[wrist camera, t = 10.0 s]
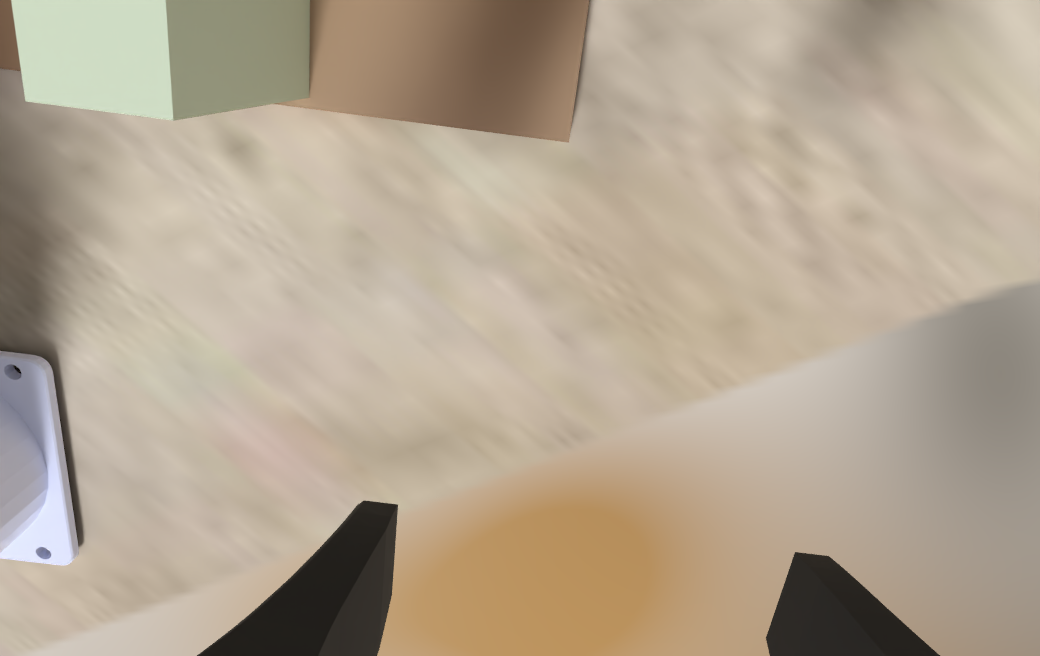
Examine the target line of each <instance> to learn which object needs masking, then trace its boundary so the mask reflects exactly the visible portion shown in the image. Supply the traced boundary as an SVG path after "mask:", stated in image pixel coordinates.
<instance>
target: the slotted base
mask: <svg viewBox="0 0 1040 656" xmlns="http://www.w3.org/2000/svg"><path fill="white" fill-rule="evenodd" d="M588 7H589V0H310V55H309V98H304V99H298V100H292V101H286V102H281V103H275V104H278V105H286V106H293V107H301V108H309V109H316V110H324V111H332V112H339V113H347V114H355V115H362V116H370V117H378V118H385V119H393V120H401V121H409V122H416V123H424V124H432V125H439V126H447V127H455V128H462V129H470V130H478V131H485V132H493V133H501V134H508V135H516V136H524V137H531V138H539V139H547V140H554V141H562V142H569V137H570V130H571V123H572V117H573V110H574V103H575V96H576V89H577V82H578V75H579V68H580V62H581V55H582V48H583V41H584V34H585V27H586V20H587V13H588ZM0 68H2V69H9V70H17V71H21V67H20V60H19V53H18V45H17V38H16V31H15V24H14V17H13V10H12V3H11V0H0Z"/></svg>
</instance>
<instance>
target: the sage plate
mask: <svg viewBox="0 0 1040 656" xmlns="http://www.w3.org/2000/svg"><path fill="white" fill-rule="evenodd" d="M11 3H12V10H13V17H14V24H15V31H16V38H17V45H18V53H19V60H20V67H21V74H22V81H23V88H24V95H25V101H27V102H34V103H42V104H50V105H57V106H65V107H73V108H81V109H88V110H96V111H104V112H112V113H119V114H127V115H135V116H142V117H150V118H158V119H166V120H179V119H185V118H191V117H197V116H203V115H209V114H215V113H221V112H227V111H233V110H239V109H245V108H251V107H257V106H263V105H269V104H275V103H281V102H286V101H292V100H298V99H304V98H309V55H310V0H11Z"/></svg>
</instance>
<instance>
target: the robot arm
mask: <svg viewBox="0 0 1040 656" xmlns="http://www.w3.org/2000/svg"><path fill="white" fill-rule="evenodd" d="M13 365H14V366H17V367H18V368H19V369H20V371H21V373H22V374H20V373H18V372H17V371H16V370H15V368H14V366H13ZM397 510H398V505H396V504H388V503H380V502H371V501H363V502H361V503H360V504H359V505H357V506H356V508H355V509H354V510H353V511H352V513H351V514H350V515H349V516H348V517H347V518H346V520H345V521H344V522H343V523H342V524H341V525H340V527H339V528H338V529H337V530H336V531H335V532H334V533H333V534H332V535H331V537H330V538H329V539H328V540H327V541H326V542H325V543H324V544H323V545H322V546H321V547H320V549H318V550H317V551H316V552H315V553H314V554H313V556H312V557H311V558H310V559H309V560H308V561H307V562H306V563H305V564H304V565H303V566H302V567H301V568H300V569H299V570H298V571H297V572H296V573H295V574H294V575H293V576H292V577H291V578H290V579H288V581H286V582H285V583H284V584H283V585H282V586H281V587H280V588H279V589H278V590H277V591H275V592H274V593H273V594H272V595H271V596H270V597H269V598H268V599H267V600H265V601H264V602H263V603H262V604H261V605H260V606H259V607H258V608H257V609H255V610H254V611H253V612H252V613H251V614H250V615H249V616H247V617H246V618H245V619H244V620H242V621H241V622H240V623H239V624H238V625H236V626H235V627H234V628H233V629H232V630H230V631H229V632H228V633H226V634H225V635H224V636H222V637H221V638H220V639H218V640H217V641H216V642H215V643H213V644H212V645H211V646H209V647H208V648H207V649H205V650H204V651H203V652H201V653H200V654H199V655H197V656H377V653H378V651H379V648H380V643H381V639H382V635H383V630H384V626H385V622H386V618H387V613H388V609H389V604H390V600H391V596H392V582H393V569H394V553H395V538H396V525H397ZM46 548H47V549H48V550H47V549H46ZM78 553H79V547H78V540H77V534H76V527H75V520H74V513H73V506H72V499H71V493H70V486H69V479H68V472H67V465H66V458H65V452H64V445H63V438H62V431H61V424H60V417H59V411H58V404H57V397H56V390H55V383H54V376H53V371H52V368H51V365H50V364H49V363H48V362H47V361H46V360H45V359H43V358H42V357H40V356H36V355H30V354H22V353H14V352H6V351H0V558H3V559H11V560H20V561H28V562H37V563H45V564H54V565H67V564H70V563H71V562H72V561H73V560H74V559H75V558H76V557H77V555H78ZM766 640H767V644H768V649H769V654H770V656H940V655H938V654H937V653H936V652H935V651H934V650H933V649H931V647H929V646H928V645H927V644H926V643H925V642H924V641H923V640H922V639H920V638H919V637H918V636H917V635H916V634H915V633H914V632H912V630H910V629H909V628H908V627H907V626H906V625H905V624H904V623H903V622H902V621H901V620H899V619H898V618H897V617H896V616H895V615H894V614H893V613H892V612H891V611H889V610H888V609H887V608H886V607H885V606H884V605H883V604H882V603H881V602H880V601H879V600H878V599H877V598H875V597H874V596H873V595H872V594H871V593H870V592H869V591H868V590H867V589H865V587H863V586H862V585H861V584H860V583H859V582H858V581H857V580H856V579H855V578H853V577H852V576H851V575H850V574H849V573H848V572H847V571H845V570H844V569H843V568H842V567H841V566H840V565H839V564H837V563H836V562H835V561H834V560H833V559H831V558H830V557H829V556H822V555H814V554H806V553H798V552H795V554H794V557H793V560H792V563H791V566H790V569H789V572H788V575H787V578H786V581H785V584H784V587H783V590H782V593H781V596H780V599H779V601H778V605H777V607H776V610H775V613H774V616H773V619H772V622H771V625H770V628H769V631H768V634H767V637H766Z"/></svg>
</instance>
